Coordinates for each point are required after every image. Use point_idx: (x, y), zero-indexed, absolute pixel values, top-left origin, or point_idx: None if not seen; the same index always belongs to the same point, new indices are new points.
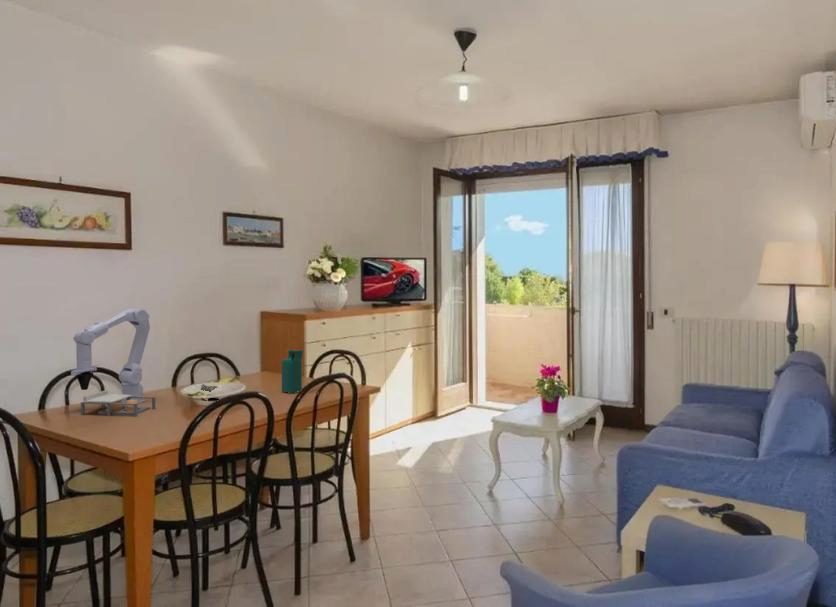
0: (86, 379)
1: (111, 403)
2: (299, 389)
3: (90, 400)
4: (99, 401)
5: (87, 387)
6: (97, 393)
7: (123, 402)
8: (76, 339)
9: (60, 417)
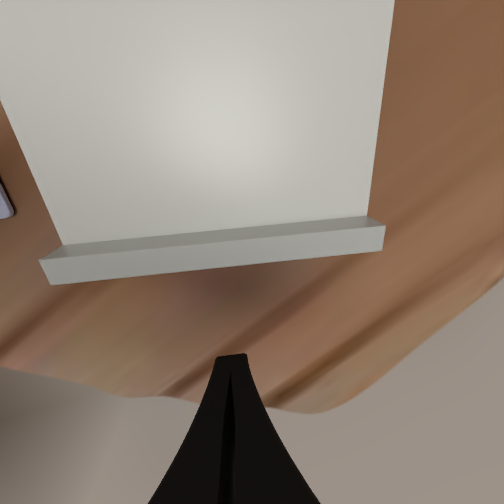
0: (283, 469)
1: None
2: None
3: (355, 186)
4: (384, 68)
5: (225, 368)
6: (210, 242)
7: None
8: None
9: (361, 284)
